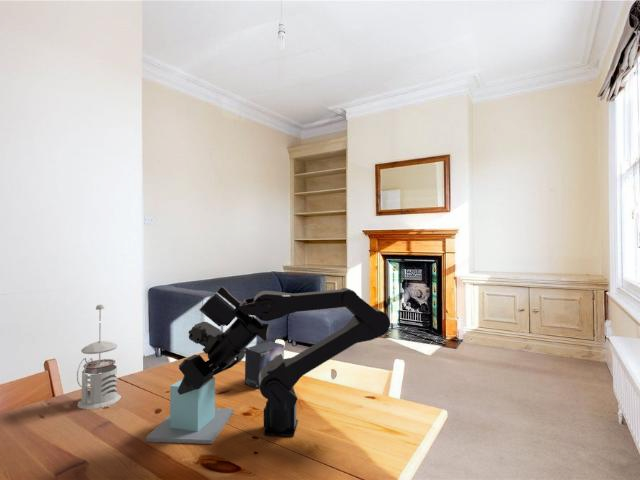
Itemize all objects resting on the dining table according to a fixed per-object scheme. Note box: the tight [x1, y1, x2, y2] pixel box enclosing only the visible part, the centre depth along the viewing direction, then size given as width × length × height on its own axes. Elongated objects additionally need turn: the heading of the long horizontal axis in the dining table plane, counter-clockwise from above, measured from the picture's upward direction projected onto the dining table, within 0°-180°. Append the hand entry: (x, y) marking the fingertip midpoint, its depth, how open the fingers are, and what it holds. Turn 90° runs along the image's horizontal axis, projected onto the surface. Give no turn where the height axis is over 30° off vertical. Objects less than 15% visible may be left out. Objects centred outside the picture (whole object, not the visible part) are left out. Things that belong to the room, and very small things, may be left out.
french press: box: [76, 304, 122, 410], centre depth 93 cm, size 10×12×25 cm
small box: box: [244, 340, 285, 390], centre depth 107 cm, size 11×6×10 cm, turn 143°
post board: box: [145, 407, 235, 445], centre depth 81 cm, size 14×14×4 cm
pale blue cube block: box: [169, 376, 216, 431], centre depth 81 cm, size 7×7×9 cm
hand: (192, 384), depth 81 cm, fingers open, 9 cm apart
